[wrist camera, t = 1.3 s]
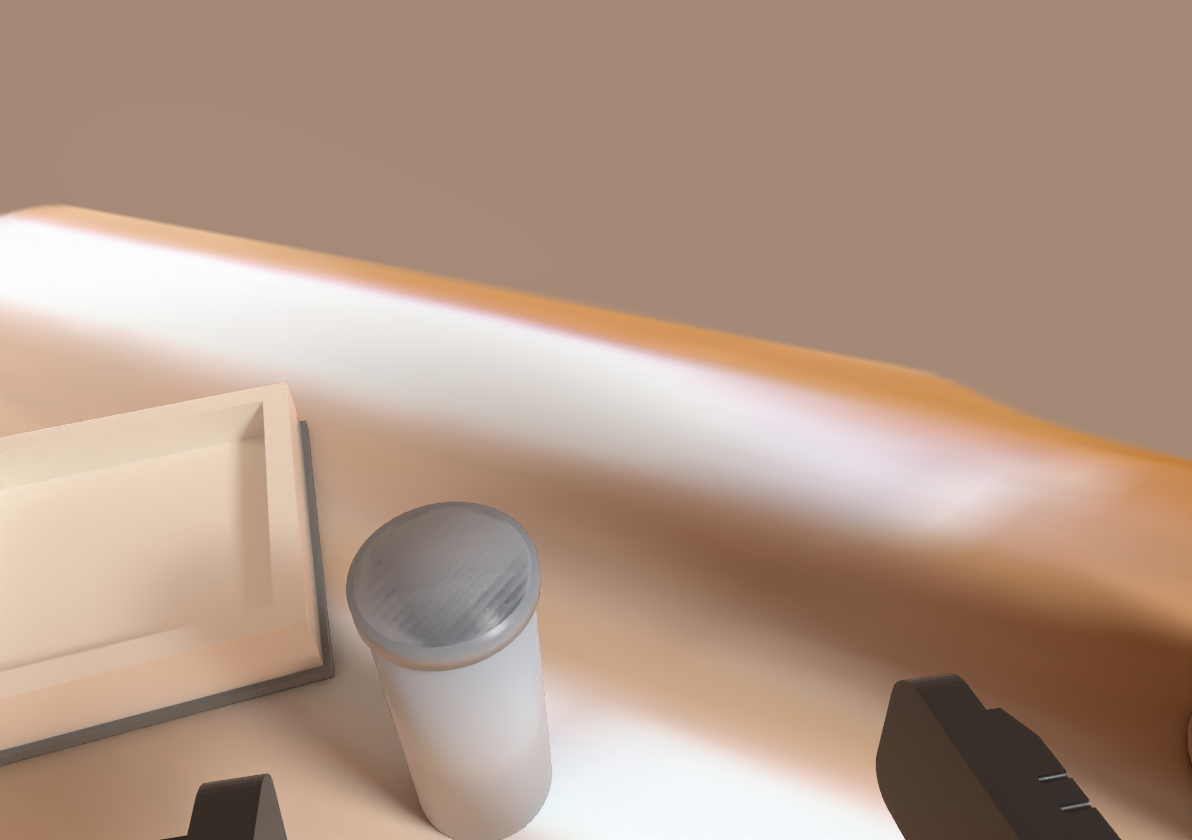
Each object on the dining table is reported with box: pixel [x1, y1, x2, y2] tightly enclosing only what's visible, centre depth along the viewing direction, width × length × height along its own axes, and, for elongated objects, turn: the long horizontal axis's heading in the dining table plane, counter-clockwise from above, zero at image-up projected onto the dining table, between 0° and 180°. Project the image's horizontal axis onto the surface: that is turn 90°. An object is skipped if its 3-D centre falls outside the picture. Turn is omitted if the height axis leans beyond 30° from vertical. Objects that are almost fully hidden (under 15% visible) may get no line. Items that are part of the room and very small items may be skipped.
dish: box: [0, 381, 323, 751], centre depth 39 cm, size 15×15×3 cm
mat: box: [0, 421, 334, 766], centre depth 40 cm, size 16×16×1 cm
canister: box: [346, 502, 552, 840], centre depth 29 cm, size 5×5×12 cm
